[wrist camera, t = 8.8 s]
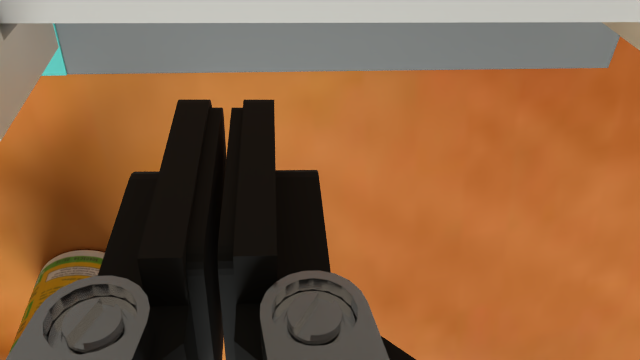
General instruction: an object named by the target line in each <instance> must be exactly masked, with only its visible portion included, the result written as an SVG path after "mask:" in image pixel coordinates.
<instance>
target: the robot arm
mask: <svg viewBox="0 0 640 360" xmlns="http://www.w3.org/2000/svg"><path fill="white" fill-rule="evenodd" d="M223 338H224V343H225V354H226V360H416V359H414V358H413V357H411V356H410V355H408V354H407V353H405V352H404V351H402V350H401V349H399V348H398V347H396V346H395V345H394V344H392V343H391V342H389V341H388V340H386V339H385V338H383V337H382V336H380V333H379V331H378V328H377V325H376V323H375V320H374V318H373V315H372V312H371V310H370V307H369V304H368V302H367V300H366V299H365V297H364V295H363V294H362V292H361V290H360V289H359V288H357V287H356V286H355V285H354V284H353V283H352V282H350V281H349V280H347V279H345V278H343V277H341V276H339V275H337V274H334V273H331V272H330V264H329V256H328V247H327V239H326V231H325V223H324V215H323V207H322V199H321V191H320V183H319V175H318V171H317V170H275V126H274V100H244V102H243V108H232V110H231V120H230V130H229V139H228V149H227V159H226V144H225V129H224V115H223V108H212V105H211V101H210V100H178V103H177V106H176V110H175V114H174V118H173V122H172V126H171V129H170V133H169V137H168V141H167V145H166V149H165V152H164V156H163V160H162V164H161V168H160V172H134V173H132V174H131V176H130V178H129V181H128V184H127V187H126V190H125V193H124V196H123V199H122V203H121V206H120V209H119V212H118V215H117V218H116V221H115V224H114V227H113V230H112V233H111V236H110V239H109V242H108V245H107V248H106V251H105V254H104V257H103V260H102V263H101V266H100V270H99V273H98V276H93V277H89V278H85V279H81V280H77V281H75V282H73V283H70V284H68V285H66V286H64V287H62V288H60V289H59V290H57V291H56V292H55V293H53V294H52V295H51V296H49V297H48V298H47V299H46V300H45V301H44V302H43V303H42V304H41V306H40V307H39V308H38V309H37V310H36V312H35V313H34V315H33V316H32V318H31V320H30V321H29V323H28V324H27V326H26V328H25V329H24V331H23V333H22V334H21V336H20V337H19V339H18V341H17V342H16V344H15V346H14V347H13V349H12V350H11V352H10V354H9V355H8V357H7V359H6V360H222V351H223Z"/></svg>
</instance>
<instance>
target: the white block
mask: <svg viewBox="0 0 640 360" xmlns="http://www.w3.org/2000/svg"><path fill="white" fill-rule="evenodd" d="M58 47H59V46H58V42H57V38H56V34H55V30H54V26H53V23H0V141H1V140H2V138H3V137H4V135H5V133H6V132H7V130H8V128H9V127H10V125H11V124H12V122H13V120H14V119H15V117H16V116H17V114H18V112H19V111H20V109H21V107H22V106H23V104H24V103H25V101H26V99H27V98H28V96H29V94H30V93H31V91H32V90H33V88H34V86H35V85H36V83H37V81H38V80H39V78H40V77H41V75H42V73H43V72H44V70H45V69H46V67H47V65H48V64H49V62H50V60H51V59H52V57H53V56H54V54H55V52H56V51H57V49H58Z"/></svg>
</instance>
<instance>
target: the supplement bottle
mask: <svg viewBox="0 0 640 360" xmlns="http://www.w3.org/2000/svg"><path fill="white" fill-rule="evenodd" d="M104 254H105V253H104V252H100V251H94V250H77V251H70V252H67V253H63V254H61V255H59V256H56V257H55V258H53V259H51V260H50V261H49V262H48V263H47V264H46V265H45V266H44V267H43V269H42V270H41V272H40V274H39V277H38V279H37V281H36V284H35V287H34V290H33V292H32V295H31V298H30V300H29V303H28V306H27V308H26V311H25V313H24V316H23V319H22V321H21V324H20V327H19V329H18V332H17V335H16V337H15V340H14V343H13V345H12V348H11V350H12V349H13V347H14V346H15V344H16V342H17V341H18V339H19V337H20V336H21V334H22V333H23V331H24V329H25V328H26V326H27V324H28V323H29V321H30V320H31V318H32V316H33V315H34V313H35V312H36V310H37V309H38V308H39V307H40V306H41V304H42V303H43V302H44V301H45V300H46V299H47V298H48V297H49V296H51V295H52V294H53V293H55V292H56V291H57V290H59V289H60V288H62V287H64V286H66V285H68V284H70V283H73V282H75V281H77V280H81V279H85V278H89V277H93V276H98V273H99V270H100V266H101V263H102V260H103V257H104ZM11 350H10V352H11ZM9 354H10V353H9Z"/></svg>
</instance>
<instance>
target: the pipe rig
mask: <svg viewBox="0 0 640 360" xmlns="http://www.w3.org/2000/svg"><path fill="white" fill-rule="evenodd" d="M0 23H53V26H54V30H55V34H56V38H57V42H58V46H59V47H58V49H57V51H56V52H55V54H54V56H53V57H52V59H51V60H50V62H49V64H48V65H47V67H46V69H45V70H44V72H43V73H42V75H41V76H48V75H67V74H126V73H210V72H293V71H377V70H460V69H544V68H608V66H609V64H610V61H611V58H612V56H613V53H614V50H615V48H616V45H617V42H618V40H619V37H620V36H621V37H622V38H624V39H625V40H626V41H628V42H629V43H630V44H632V45H633V46H634V47H636V48H637V49H639V50H640V0H0Z"/></svg>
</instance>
